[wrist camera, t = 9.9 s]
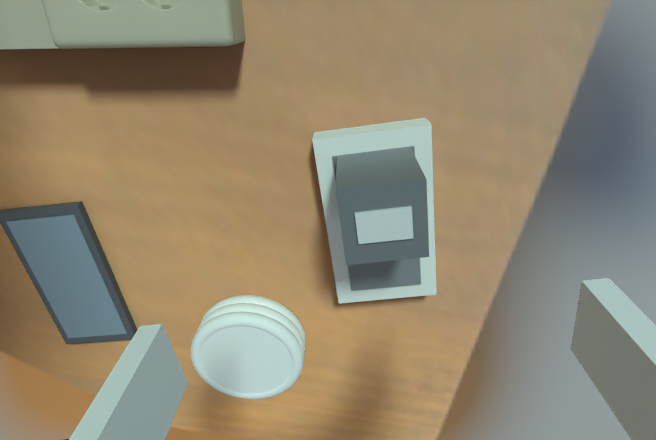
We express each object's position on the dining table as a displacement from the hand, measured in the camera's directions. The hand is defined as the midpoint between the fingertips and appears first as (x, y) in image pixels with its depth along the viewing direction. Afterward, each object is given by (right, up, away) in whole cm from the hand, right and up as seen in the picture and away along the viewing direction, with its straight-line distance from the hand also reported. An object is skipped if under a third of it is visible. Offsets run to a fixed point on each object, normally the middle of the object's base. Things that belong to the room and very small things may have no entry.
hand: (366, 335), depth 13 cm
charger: (+2, +6, +16) cm, 17 cm away
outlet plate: (+3, +4, +19) cm, 20 cm away
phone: (-24, -1, +24) cm, 33 cm away
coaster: (-8, -7, +26) cm, 28 cm away
